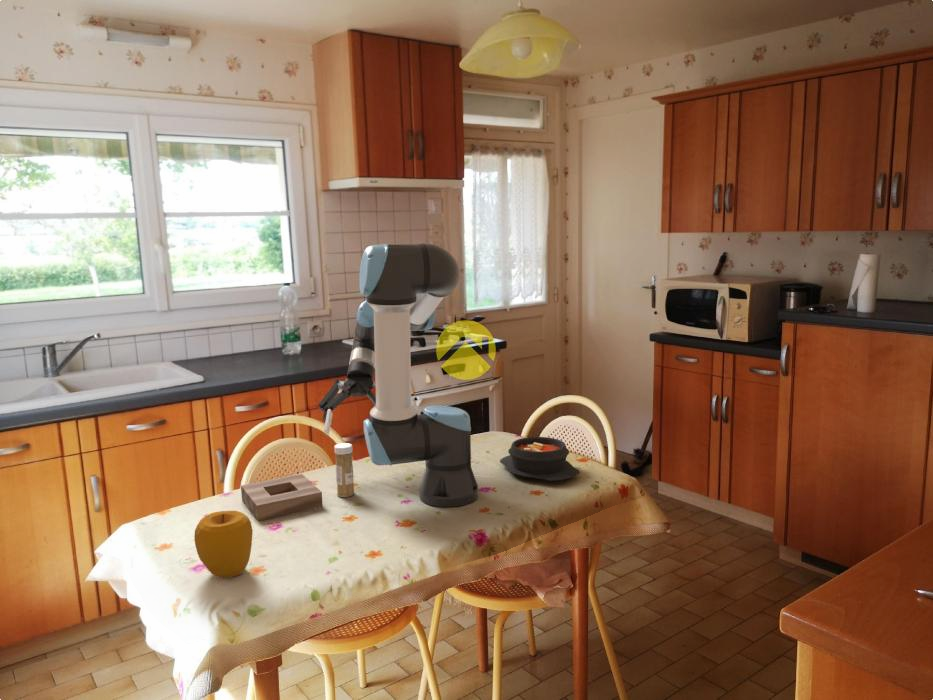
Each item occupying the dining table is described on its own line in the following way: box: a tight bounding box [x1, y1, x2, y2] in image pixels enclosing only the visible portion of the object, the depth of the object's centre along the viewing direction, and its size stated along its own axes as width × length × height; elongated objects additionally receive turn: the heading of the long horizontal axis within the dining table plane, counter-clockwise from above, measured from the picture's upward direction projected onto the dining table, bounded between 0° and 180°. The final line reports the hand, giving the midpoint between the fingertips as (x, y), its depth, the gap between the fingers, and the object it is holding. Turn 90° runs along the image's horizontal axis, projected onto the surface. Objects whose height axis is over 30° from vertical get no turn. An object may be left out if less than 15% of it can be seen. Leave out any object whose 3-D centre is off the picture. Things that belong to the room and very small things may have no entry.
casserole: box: [499, 436, 581, 482], centre depth 196 cm, size 25×19×8 cm
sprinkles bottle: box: [334, 442, 355, 498], centre depth 182 cm, size 5×5×13 cm
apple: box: [193, 510, 253, 579], centre depth 140 cm, size 11×11×13 cm
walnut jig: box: [240, 473, 324, 522], centre depth 177 cm, size 16×16×4 cm
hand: (350, 432), depth 190 cm, fingers open, 13 cm apart
